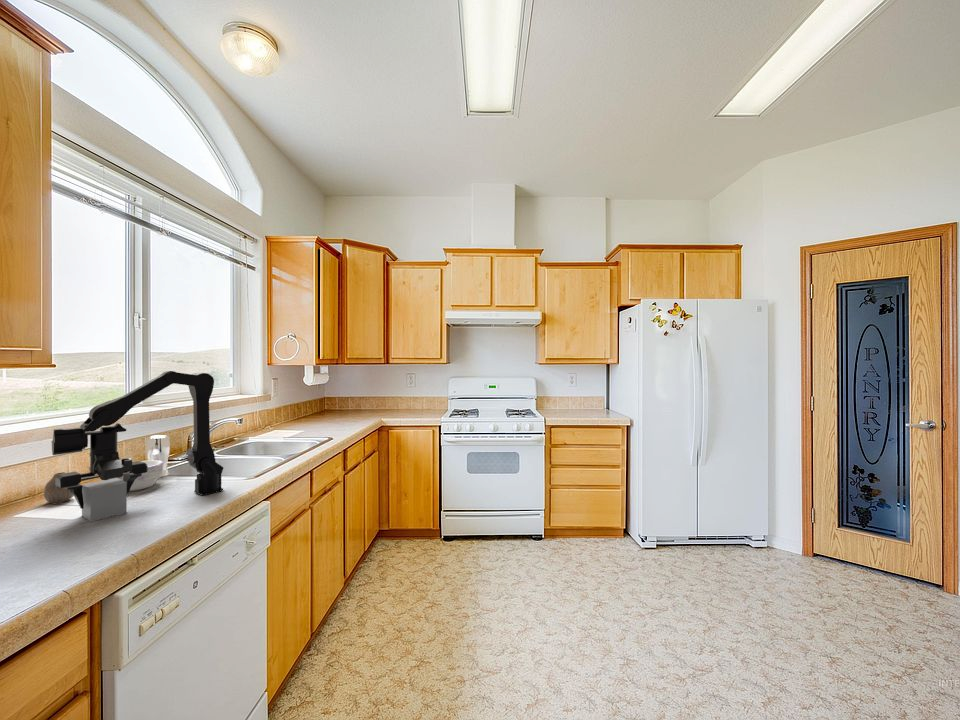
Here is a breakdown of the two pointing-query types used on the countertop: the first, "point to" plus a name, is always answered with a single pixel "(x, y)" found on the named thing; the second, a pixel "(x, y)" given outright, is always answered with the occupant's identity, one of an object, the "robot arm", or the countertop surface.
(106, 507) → the gray rectangular prism
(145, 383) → the robot arm
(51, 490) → the brown rounded lump
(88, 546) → the countertop surface
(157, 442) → the beer glass
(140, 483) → the paper bowls
